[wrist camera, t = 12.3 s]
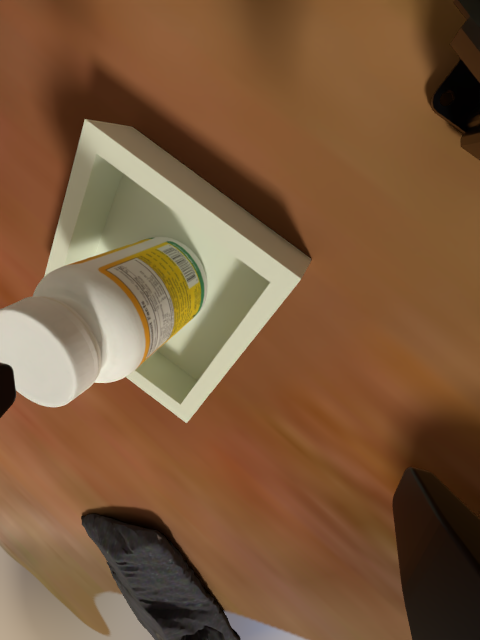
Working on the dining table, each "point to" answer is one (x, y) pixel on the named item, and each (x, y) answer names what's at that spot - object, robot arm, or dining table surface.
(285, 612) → the dining table surface
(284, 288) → the bin
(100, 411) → the dining table surface
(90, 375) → the supplement bottle
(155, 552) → the dark slate chunk
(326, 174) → the dining table surface
